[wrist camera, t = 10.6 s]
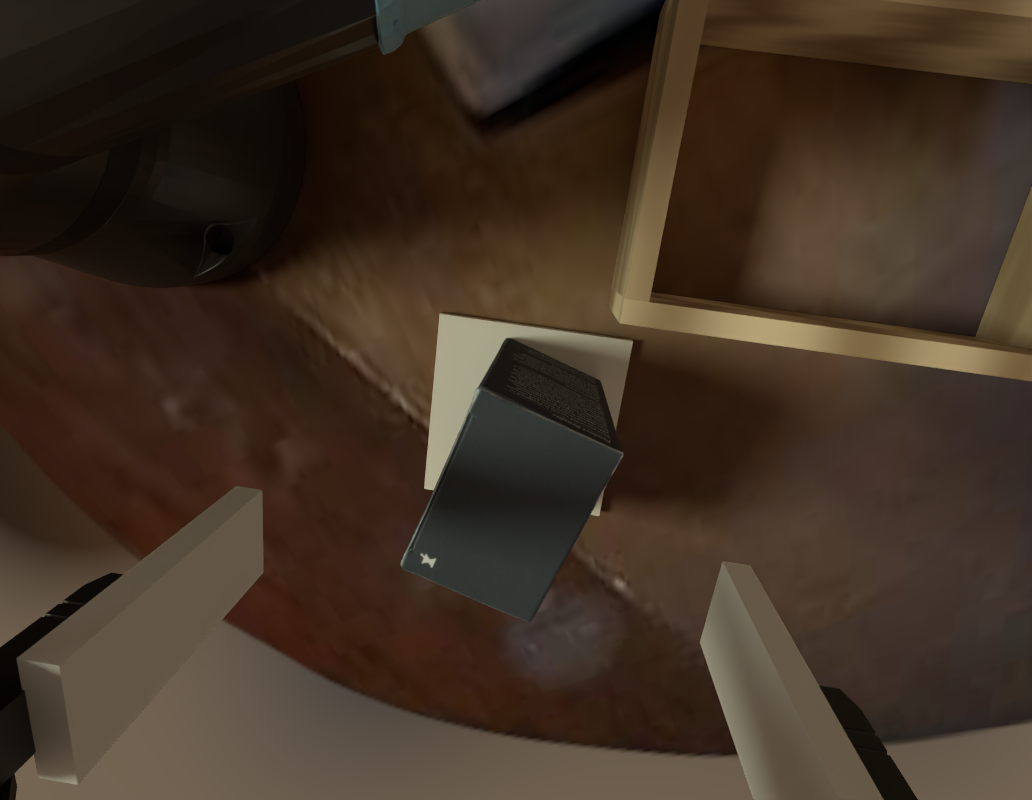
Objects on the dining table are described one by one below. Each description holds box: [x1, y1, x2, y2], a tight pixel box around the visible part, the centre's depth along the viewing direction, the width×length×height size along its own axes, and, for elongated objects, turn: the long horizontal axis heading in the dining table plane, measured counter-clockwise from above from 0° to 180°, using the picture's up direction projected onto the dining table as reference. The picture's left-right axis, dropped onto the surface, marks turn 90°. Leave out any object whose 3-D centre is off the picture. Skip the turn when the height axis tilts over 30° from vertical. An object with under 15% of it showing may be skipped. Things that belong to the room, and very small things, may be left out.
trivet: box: [424, 312, 633, 516], centre depth 30 cm, size 10×10×1 cm
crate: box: [608, 0, 1032, 381], centre depth 23 cm, size 19×13×6 cm
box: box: [401, 338, 624, 622], centre depth 24 cm, size 8×6×11 cm
